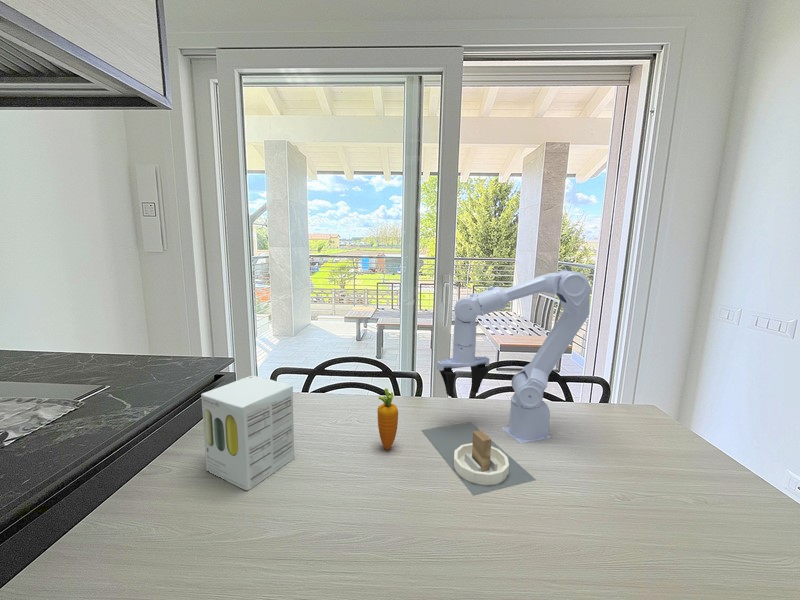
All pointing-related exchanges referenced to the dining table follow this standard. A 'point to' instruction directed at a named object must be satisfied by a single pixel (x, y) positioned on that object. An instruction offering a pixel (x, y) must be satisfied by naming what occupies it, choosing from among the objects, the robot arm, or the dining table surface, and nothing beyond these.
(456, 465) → the plate
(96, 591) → the dining table surface
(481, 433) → the tan cardboard box
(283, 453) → the supplement box
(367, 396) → the dining table surface
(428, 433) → the slate board
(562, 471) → the dining table surface
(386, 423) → the carrot
